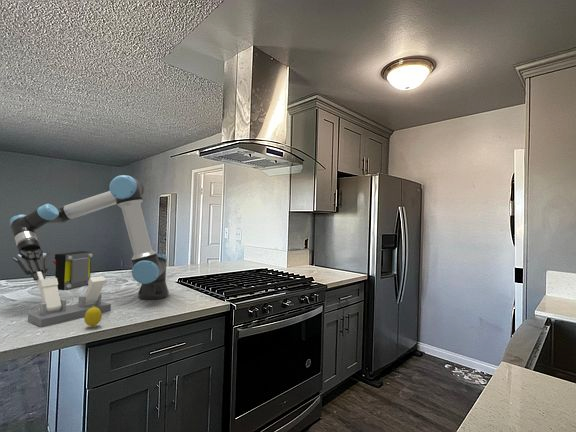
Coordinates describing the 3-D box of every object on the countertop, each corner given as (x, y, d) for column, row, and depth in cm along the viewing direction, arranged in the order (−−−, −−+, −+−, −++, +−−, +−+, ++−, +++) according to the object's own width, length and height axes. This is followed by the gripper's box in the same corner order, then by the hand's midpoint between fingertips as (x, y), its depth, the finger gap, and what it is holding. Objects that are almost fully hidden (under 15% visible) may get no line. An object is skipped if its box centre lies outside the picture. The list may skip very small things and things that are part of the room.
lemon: (89, 324, 118) (90, 304, 118) (103, 324, 118) (104, 304, 119) (80, 329, 113) (81, 308, 113) (96, 329, 113) (97, 308, 113)
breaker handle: (80, 301, 132) (89, 277, 129) (94, 298, 137) (103, 275, 134) (83, 306, 131) (92, 282, 128) (97, 303, 136) (106, 280, 133)
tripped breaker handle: (43, 313, 120) (37, 282, 123) (59, 310, 124) (53, 280, 128) (46, 310, 118) (40, 279, 122) (63, 307, 123) (56, 277, 127)
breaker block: (27, 320, 119) (28, 302, 120) (96, 306, 142) (97, 290, 142) (40, 327, 113) (41, 307, 114) (110, 310, 136) (111, 294, 136)
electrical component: (66, 290, 168) (68, 255, 169) (52, 289, 170) (53, 254, 171) (92, 284, 186) (94, 252, 186) (79, 282, 188) (80, 251, 188)
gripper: (42, 248, 143) (56, 288, 134) (6, 250, 131) (19, 293, 123) (47, 237, 140) (63, 277, 131) (11, 238, 129) (25, 282, 120)
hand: (42, 285), depth 127 cm, fingers closed
